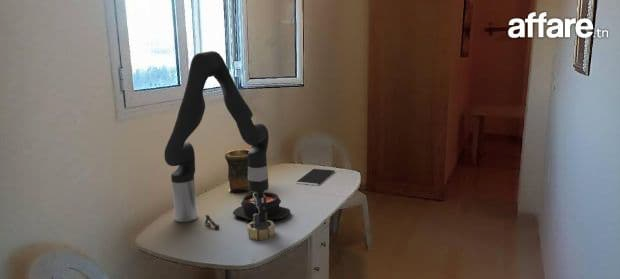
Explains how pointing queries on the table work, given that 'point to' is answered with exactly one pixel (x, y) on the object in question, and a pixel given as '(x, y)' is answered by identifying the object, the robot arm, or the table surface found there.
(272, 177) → the table surface
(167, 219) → the table surface
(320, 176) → the smartphone
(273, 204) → the casserole
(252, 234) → the octagonal wooden ring
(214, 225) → the wooden post with brackets
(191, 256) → the table surface
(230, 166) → the vessel
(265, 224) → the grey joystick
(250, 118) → the robot arm
